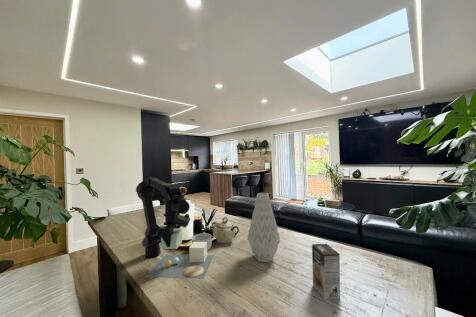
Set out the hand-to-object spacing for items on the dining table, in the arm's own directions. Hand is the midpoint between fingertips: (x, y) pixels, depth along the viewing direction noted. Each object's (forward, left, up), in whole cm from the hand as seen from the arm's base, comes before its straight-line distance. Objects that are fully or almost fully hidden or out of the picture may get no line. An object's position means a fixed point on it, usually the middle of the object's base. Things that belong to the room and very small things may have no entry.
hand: (171, 243), depth 96 cm
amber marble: (-1, -1, -10) cm, 10 cm away
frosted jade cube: (0, 0, -1) cm, 1 cm away
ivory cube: (+11, +7, -10) cm, 17 cm away
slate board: (+5, +1, -11) cm, 12 cm away
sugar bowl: (+21, +31, -11) cm, 39 cm away
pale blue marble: (+1, +1, -10) cm, 10 cm away
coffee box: (+66, -15, -11) cm, 69 cm away
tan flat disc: (+12, -5, -10) cm, 16 cm away
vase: (+44, +10, -11) cm, 46 cm away
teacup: (+10, +19, -11) cm, 24 cm away
